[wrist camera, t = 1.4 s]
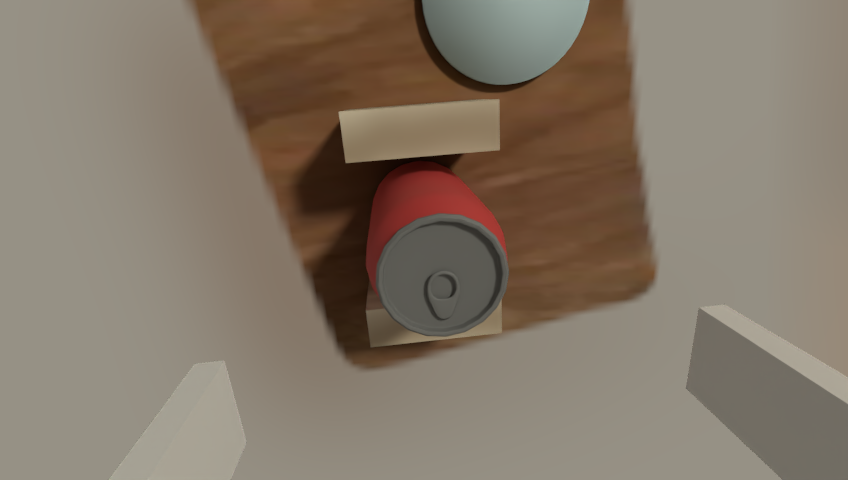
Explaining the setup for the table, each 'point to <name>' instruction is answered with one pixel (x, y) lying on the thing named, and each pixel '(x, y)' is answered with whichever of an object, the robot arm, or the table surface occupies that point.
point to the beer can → (434, 251)
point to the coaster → (503, 35)
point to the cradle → (417, 137)
